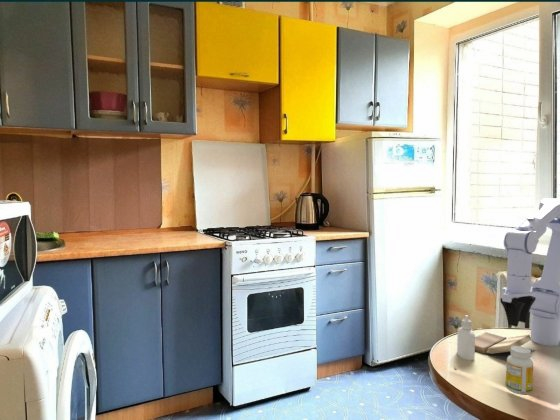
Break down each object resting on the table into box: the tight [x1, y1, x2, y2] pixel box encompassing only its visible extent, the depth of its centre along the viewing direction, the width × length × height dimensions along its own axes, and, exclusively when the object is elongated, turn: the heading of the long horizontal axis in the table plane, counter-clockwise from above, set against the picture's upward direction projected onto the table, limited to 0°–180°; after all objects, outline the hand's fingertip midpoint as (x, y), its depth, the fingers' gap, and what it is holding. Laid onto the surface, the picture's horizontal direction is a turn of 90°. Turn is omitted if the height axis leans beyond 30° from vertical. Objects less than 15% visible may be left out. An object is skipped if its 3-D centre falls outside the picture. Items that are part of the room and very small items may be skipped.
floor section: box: [475, 331, 536, 362], centre depth 119 cm, size 14×14×2 cm
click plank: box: [486, 334, 532, 355], centre depth 117 cm, size 13×7×2 cm, turn 128°
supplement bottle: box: [505, 346, 534, 396], centre depth 97 cm, size 5×5×10 cm
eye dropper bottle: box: [456, 314, 476, 361], centre depth 114 cm, size 4×6×12 cm
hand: (517, 323), depth 115 cm, fingers open, 5 cm apart
